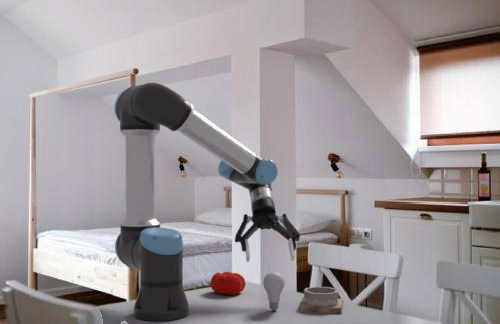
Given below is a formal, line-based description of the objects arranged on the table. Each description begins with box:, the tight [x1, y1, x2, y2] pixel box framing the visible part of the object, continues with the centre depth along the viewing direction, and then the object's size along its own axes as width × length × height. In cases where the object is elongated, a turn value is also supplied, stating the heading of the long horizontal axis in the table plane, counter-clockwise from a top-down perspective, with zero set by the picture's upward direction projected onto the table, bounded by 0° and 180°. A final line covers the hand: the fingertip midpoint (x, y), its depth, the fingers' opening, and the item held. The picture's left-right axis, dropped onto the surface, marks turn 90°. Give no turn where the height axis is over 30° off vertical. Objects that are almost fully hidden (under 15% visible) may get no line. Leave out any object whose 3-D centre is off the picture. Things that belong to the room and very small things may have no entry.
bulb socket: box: [297, 286, 344, 314], centre depth 176 cm, size 12×12×5 cm
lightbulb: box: [262, 271, 286, 312], centre depth 173 cm, size 6×6×11 cm
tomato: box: [209, 271, 246, 296], centre depth 196 cm, size 10×11×7 cm
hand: (270, 258), depth 182 cm, fingers open, 13 cm apart
